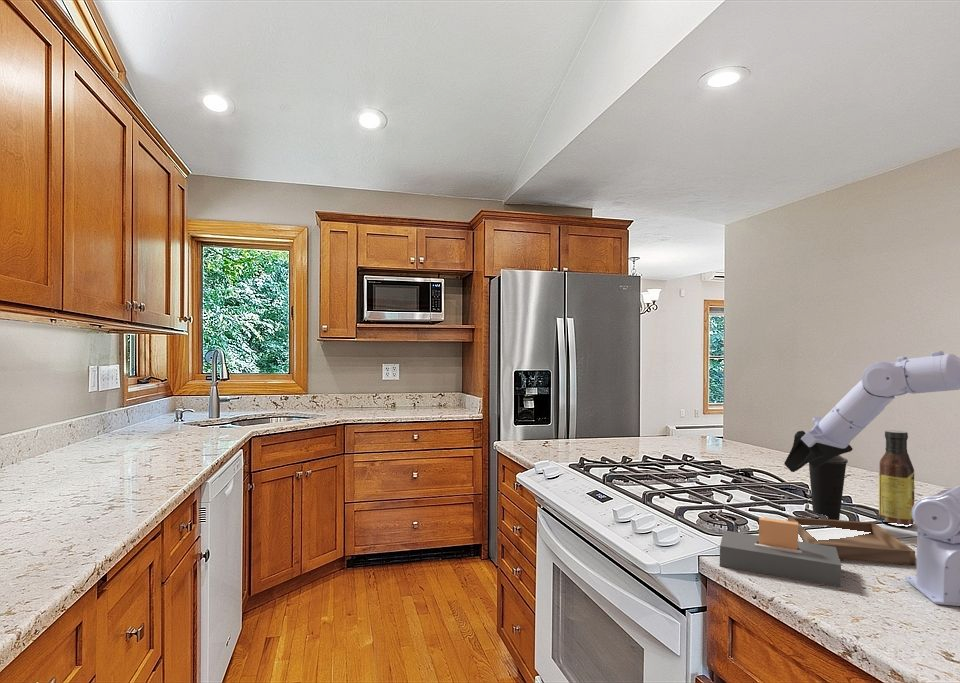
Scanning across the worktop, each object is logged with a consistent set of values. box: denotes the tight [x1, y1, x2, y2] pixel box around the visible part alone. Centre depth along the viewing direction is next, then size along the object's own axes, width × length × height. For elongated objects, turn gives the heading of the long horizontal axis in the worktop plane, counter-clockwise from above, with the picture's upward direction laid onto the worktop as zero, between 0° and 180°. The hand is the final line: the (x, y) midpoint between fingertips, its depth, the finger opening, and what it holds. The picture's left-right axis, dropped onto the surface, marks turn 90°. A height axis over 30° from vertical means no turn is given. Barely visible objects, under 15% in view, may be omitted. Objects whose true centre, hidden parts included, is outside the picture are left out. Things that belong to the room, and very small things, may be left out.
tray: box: [787, 516, 916, 566], centre depth 112 cm, size 16×16×2 cm
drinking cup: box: [808, 455, 849, 520], centre depth 127 cm, size 8×8×20 cm
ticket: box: [758, 516, 799, 550], centre depth 102 cm, size 6×2×8 cm, turn 63°
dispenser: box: [719, 530, 842, 588], centre depth 102 cm, size 18×9×4 cm, turn 63°
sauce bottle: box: [878, 429, 916, 525], centre depth 126 cm, size 7×6×20 cm
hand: (800, 465), depth 111 cm, fingers open, 7 cm apart
